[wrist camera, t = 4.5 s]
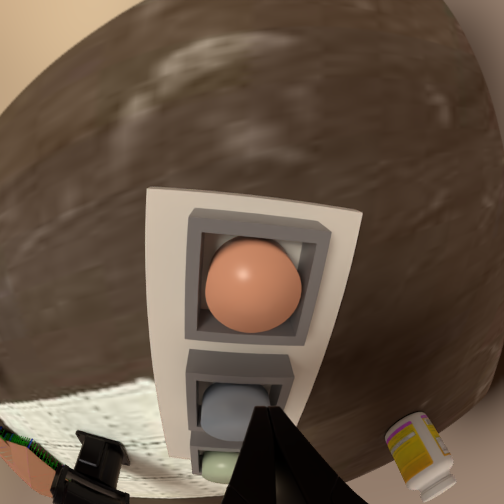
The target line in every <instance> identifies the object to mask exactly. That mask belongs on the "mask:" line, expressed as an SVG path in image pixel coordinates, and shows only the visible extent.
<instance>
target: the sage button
mask: <svg viewBox="0 0 504 504" xmlns="http://www.w3.org/2000/svg"><path fill="white" fill-rule="evenodd" d="M238 455H239V452H222V451H205V452H204V453H203V459H202V476H203V477H204V478H205V479H206V480H208V481H211V482H215V483H220V484H229V481H230V479H231V476H232V473H233V470H234V467H235V464H236V461H237V458H238Z"/></svg>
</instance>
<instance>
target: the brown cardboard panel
mask: <svg viewBox="0 0 504 504" xmlns="http://www.w3.org/2000/svg"><path fill="white" fill-rule="evenodd" d="M1 428H2V426H1ZM1 428H0V430H1ZM4 430H5V429H4ZM0 432H1V431H0ZM3 432H4V431H3ZM1 433H2V432H1ZM2 434H3V433H2ZM8 434H9V433H8V432H7V433H6V435H5V437H6V438H7V436H8ZM10 434H11V433H10ZM10 434H9V436H10ZM14 435H15V436H16V434H14ZM14 435H13V434H12V435H11V436H10V438H9V436H8V438H9V440H8V438H7V440H8V441H7V440H6V438H5V437H4V438H3V437H2V435H0V456H1V457H2V459H3V460H4V461H5V462H6V463H7V464H8V465H9V466H10V467H11V468H12V469H13V471H15V473H16V474H17V475H18V476H19V477H20V478H21V479H22V480H23V481H25V482H26V483H27V484H28V485H29V486H30V487H31V488H32V489H34V490H35V491H36V492H38V493H39V494H41V495H45V496H48V497H51V498H52V497H53V496H52V494H51V492H50V488H51V485H52V482H53V479H54V476H55V473H56V471H55V469H56V468H54V470H53V469H52V468H53V467H52V466H51V465H50V466H49V464H48V465H47V463H46V461H45V462H43V461H42V460H43V459H42V460H41V459H40V456H39V457H37V456H36V455H37V453H38V452H39V451H38V450H39V449H38V450H37V449H36V446H35V448H34V450H35V449H36V450H37V453H36V455H35V454H34V453H33V452H34V451H33V452H32V451H31V450H29V447H30V445H31V442H32V440H33V439H31V441H30V444H29V443H27V444H29V446H28V448H27V447H25V446H22V445H20V444H21V442H24V441H22V440H23V438H22V440H21V442H20V444H19V445H18V443H19V441H20V439H21V437H22V436H21V437H20V439H19V440H18V439H17V441H18V443H17V441H16V443H17V444H16V443H14V442H15V440H16V438H17V436H18V435H17V436H16V438H15V436H14ZM12 436H13V437H14V438H13V437H12ZM18 438H19V437H18ZM25 438H26V437H25ZM12 439H13V440H12ZM27 439H28V437H27ZM27 439H26V441H27ZM10 440H11V441H12V442H11V441H10ZM24 440H25V439H24ZM29 440H30V438H29ZM29 440H28V442H29ZM13 441H14V442H13ZM24 443H26V442H24ZM34 443H35V441H34ZM22 444H23V443H22ZM23 445H25V444H23ZM33 445H34V444H33ZM36 445H37V444H36ZM26 446H27V445H26ZM32 447H33V446H32ZM39 448H40V447H39ZM31 449H32V448H31ZM42 451H43V449H42ZM42 451H41V453H42ZM39 453H40V452H39ZM45 453H46V452H45ZM40 455H41V454H40ZM42 455H43V454H42ZM48 455H49V454H48ZM44 457H45V454H44V455H43V458H44ZM45 458H46V457H45ZM47 458H48V456H47ZM51 458H52V456H51ZM46 460H47V459H46ZM48 460H49V459H48ZM50 460H51V459H50ZM50 460H49V463H50V462H51V461H50ZM54 460H55V458H54ZM53 462H54V461H53ZM57 462H58V461H57ZM51 464H52V465H53V466H54V465H55V464H53V463H52V462H51ZM60 464H61V463H60ZM56 465H57V463H56ZM56 465H55V467H56ZM63 466H64V465H63ZM65 480H67V479H66V478H65ZM67 481H68V480H67Z"/></svg>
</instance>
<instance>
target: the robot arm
mask: <svg viewBox="0 0 504 504" xmlns="http://www.w3.org/2000/svg"><path fill="white" fill-rule="evenodd" d="M75 434H76V435H77V437H78V439H79V440H80V442H81V443H82V447H81V450H80V453H79V456H78V458H77V461H76V464H75V467H74V470H73V469H71V468H70V467H69V466H67V465H65V466H62V465H59V464H58V467H57V470H56V473H55V476H54V479H53V482H52V485H51V488H50V492H51V494H52V496H53V497H52V498H53V504H129V494H128V493H126V492H125V493H124V492H121V491H119V490H116V487H117V483H118V478H119V474H120V469H121V465H122V464H123V465H127V466H129V465H130V461H129V459H128V457H127V455H126V453H125V451H124V449H123V447H122V445H121V444H120V443H118V442H115V441H111V440H107V439H103V438H100V437H96V436H93V435H90V434H86V433H83V432H80V431H76V433H75ZM65 478H67V479H69V480H70V481H67V480H65ZM221 504H368V503H367V502H366V501H365V500H363V499H362V498H361V497H360V496H358V495H357V494H356V493H355V492H354V491H353V490H352V489H351V488H350V487H349V486H348V485H347V484H346V483H345V482H344V481H343V480H342V479H341V478H340V477H338V474H337V473H336V472H335V471H334V470H333V469H332V468H331V467H330V466H329V465H328V463H327V462H326V461H325V460H324V459H323V458H322V457H321V455H320V454H319V453H318V452H317V451H316V450H315V448H314V447H313V446H312V445H311V444H310V443H309V441H308V440H307V439H306V438H305V437H304V435H303V434H302V433H301V432H300V431H299V429H298V428H297V427H296V426H295V425H294V423H293V422H292V421H291V420H290V418H289V417H288V416H287V415H286V413H285V412H284V411H283V410H282V408H281V407H280V406H267V407H266V406H255V407H254V409H253V412H252V415H251V419H250V422H249V425H248V428H247V431H246V434H245V437H244V440H243V443H242V446H241V449H240V452H239V455H238V458H237V461H236V464H235V467H234V470H233V473H232V476H231V479H230V481H229V484H228V487H227V489H226V492H225V495H224V497H223V500H222V502H221Z"/></svg>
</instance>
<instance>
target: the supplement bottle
mask: <svg viewBox="0 0 504 504" xmlns="http://www.w3.org/2000/svg"><path fill="white" fill-rule="evenodd" d="M385 441H386V443H387V445H388V448H389V450H390V452H391V454H392V456H393V458H394V460H395V462H396V464H397V466H398V468H399V470H400V473H401V475H402V477H403V479H404V481H405V483H406V486H407V487H408V488H409V489H410V490H419V491H420V492H421V499H422V501H423V503H424V502H427V501H429V500H431V499H433V498H435V497H436V496H438V495H440V494H441V493H443V492H444V491H446V490H448V489H449V488H450V487H452V486H453V485H454V484H455V483H456V482H457V481H456V479H455V477H454V476H453V475H452V474H450V471H449V470H450V468H451V467H452V465H453V457H452V456H451V454H450V452H449V451H448V449H447V447H446V446H445V444H444V442H443V441H442V439H441V437H440V436H439V434H438V432H437V431H436V429H435V428H434V426H433V424H432V423H431V421H430V420H429V418H428V417H427V415H426V414H425V413H423V412H416V413H413V414H410V415H408V416H406V417H404V418H403V419H401V420H399V421H398V422H397V423H395V424H394V425H393V426H392V427H391V428H390V429H389V430H388V432H387V433H386V435H385Z"/></svg>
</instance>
